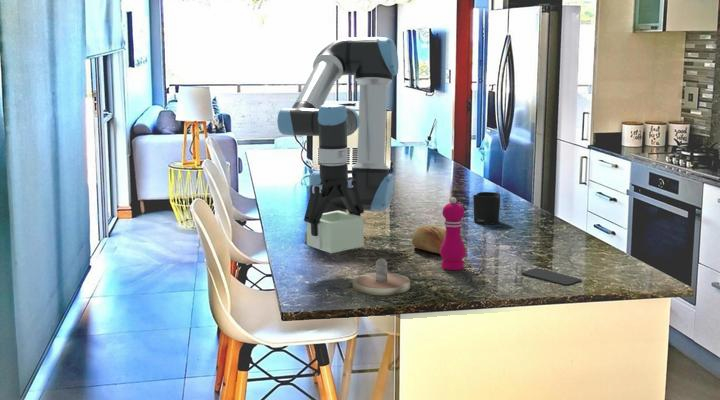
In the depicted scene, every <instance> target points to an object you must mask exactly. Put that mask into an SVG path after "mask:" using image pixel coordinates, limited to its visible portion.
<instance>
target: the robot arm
mask: <svg viewBox="0 0 720 400" xmlns="http://www.w3.org/2000/svg"><path fill="white" fill-rule="evenodd" d="M398 55H399V54H398V51H397V47H396V44H395V41H394V40H393V39H392V38H390V37H381V36H374V37H373V36H370V37H367V36H366V37H364V36H363V37H343V38H340V39H337V40H335V41H333V42H331V43H329V44H328V45H327V46H326V47H324V48H323V49H322V50H321V51H319V53H318V54H317V56H316V57H315V59H314V60H313V65H312V68H313V69H312V71H311V73H310V75H309V77H308V79H307V80H306V82H305V84H304V86H303V88H302V89H301V91H300V93H299V95H298V96H297V98H296V100H295V102H294V104H292V107H290V108H289V107H287V108H285V107H284V108H281V109H280V110H279V111H278V113H277V121H276V123H277V128H278V131H279V132H280V134H281V135H282V136H283V135H284V136H293V137H295V136H297V137H299V136H302V137H303V136H304V137H305V136H306V137H309V136H312V137H313V136H314V137H318V156H319V157H318V162H319V163H320V164H319V167H318V169H319V170H316V171H313V172H312V173H311V174H310V175H309V179H308V180H309V182H308V183H309V184H308V189H309V190H308V191H309V192H308V193H309V195H308V196H309V197H308V199H309V200H308V202H307V206H306V210H305V214H304V217H303V218H304V219H303V221H304V222H308V223H310V224H311V235H312V236H313V243H314V247H317V248H322V239H321V224H319V221H320V219H321V217H322V215H323V213H328V212H333V211H338V210H339V211H342V212H346V213H350V214H353V215H357V216H361V214H364V213H365V212H366V211H367V212H369V211H370V212H385V211H386V210H387V209H389V207H390V205H391V202H392V199H393V194H394V191H395V178H394V175H393V174H391V173H390V168H389V166H387V164H386V163H385V158H386V156H385V154H386V153H385V152H386V130H387V129H386V126H387V125H386V123H387V104H388V103H387V102H388V101H387V99H388V86H389V85H391V84H392V82H393V76H396V75H398V74H399V57H398ZM342 76H354V79H355V80H354V81H355V82H356V83H357V84H358V86H359V98H358V99H359V100H358V101H359V102H358V112H357V111H355V109H353V108H350V107H346V105H344V104H336V103H335V104H334V103H333V104H325V102H326V100H327V98H328V97H329V94H330V92H331V90H332V88H333V86H334V84H335V82H337V81H338V80H340V79H341V77H342ZM355 132H358V133H357V152H356V153H357V154H356V157H357V158H356V163H355V164H354V165H352V168H351V172H348V171H349V170H348V169H349V166H348V164H347V163H348V162H349V161H348V136H351V135H352V134H354V133H355ZM347 211H348V212H347ZM304 242H305V243H306V244H307V229H306V231H305V233H304ZM314 247H313V248H314ZM317 248H316V249H317Z"/></svg>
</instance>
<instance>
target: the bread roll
mask: <svg viewBox="0 0 720 400" xmlns="http://www.w3.org/2000/svg"><path fill="white" fill-rule="evenodd" d="M445 235H446V229H444V228H442V227H440V226H438V225H433V224H432V225H421V226H419V227H417V228H416V229H415V231H414V233H413V235H412V239H411V243H412V245H413V246H414V248H416V249H418V250H422V251H427V252H430V253H434V254H438V255H440V248H441V245H442V243H443V241H444V238H445Z"/></svg>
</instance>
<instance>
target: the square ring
mask: <svg viewBox="0 0 720 400" xmlns="http://www.w3.org/2000/svg"><path fill="white" fill-rule="evenodd" d="M319 224H321V239H322V248H317V247H314V243H313V236H312V235H311V224H310V223H308V222H306V224H305V225H306V226H305V227H306V230H307V243H306V245H307V246H309V247H312V248H314V249H317V250H320V251H324V252H326V253H329V254H335V253H339V252H344V251H348V250H352V249H358V248H361V247H364V245H365V237H364V234H365V232H364V216H361V215H360V216H357V215H353V214H350V213H349V212H347V211H346V212H342V211H339V210H338V211H333V212H328V213H323V215H322V217H321V219H320V221H319Z"/></svg>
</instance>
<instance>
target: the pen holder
mask: <svg viewBox="0 0 720 400" xmlns="http://www.w3.org/2000/svg"><path fill="white" fill-rule="evenodd" d="M472 197H473V221H474V223H476V224H479V225H496V224H497V223H499V221H500V220H499V219H500V206H501V194H500V193H498V192H493V191H480V192H478V193H476V194H473V195H472Z"/></svg>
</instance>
